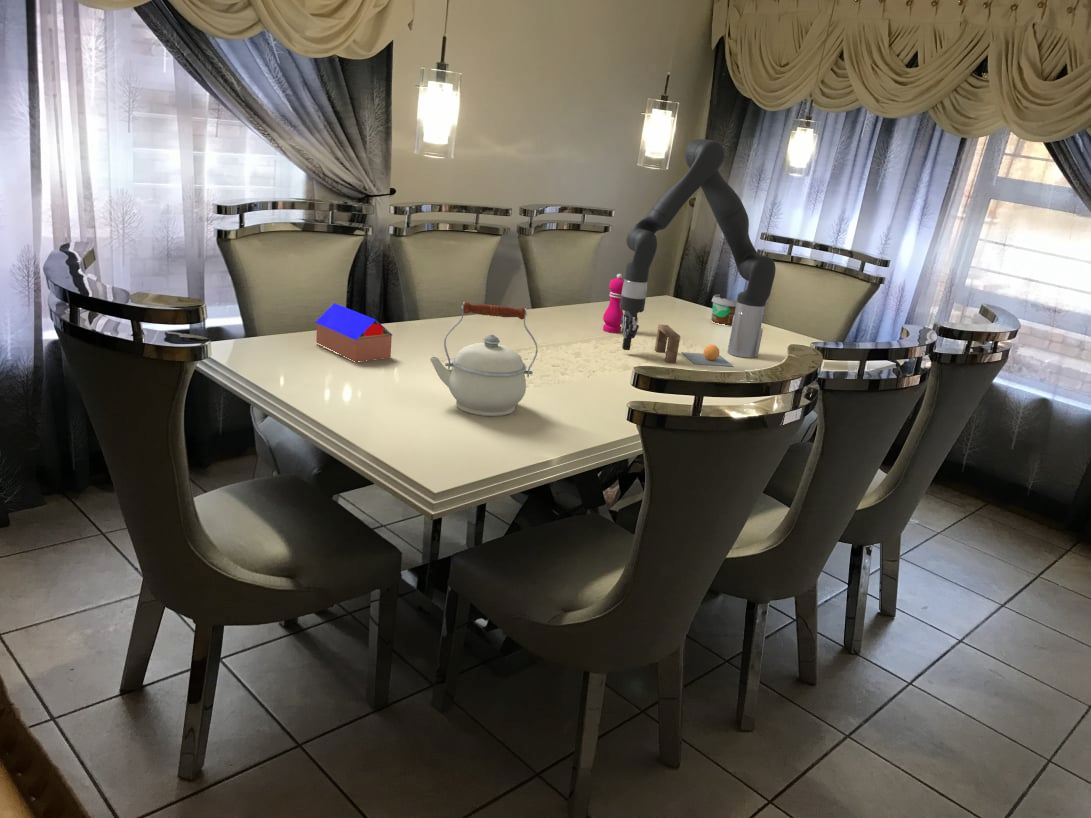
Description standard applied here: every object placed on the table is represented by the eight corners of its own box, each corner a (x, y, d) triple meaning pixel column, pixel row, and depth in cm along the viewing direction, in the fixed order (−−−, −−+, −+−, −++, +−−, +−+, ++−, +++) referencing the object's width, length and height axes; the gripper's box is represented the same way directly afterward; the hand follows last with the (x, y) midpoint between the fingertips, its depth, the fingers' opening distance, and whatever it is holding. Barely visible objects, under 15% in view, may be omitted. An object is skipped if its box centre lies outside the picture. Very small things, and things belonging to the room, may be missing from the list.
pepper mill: (598, 330, 294) (605, 272, 287) (606, 327, 300) (614, 270, 293) (617, 334, 291) (625, 276, 284) (625, 331, 297) (633, 274, 290)
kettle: (530, 399, 213) (540, 301, 205) (531, 424, 196) (543, 318, 188) (430, 389, 212) (437, 291, 204) (422, 413, 194) (429, 307, 187)
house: (355, 364, 226) (356, 321, 222) (314, 345, 239) (315, 304, 235) (392, 359, 234) (394, 317, 231) (351, 341, 247) (352, 301, 243)
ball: (718, 354, 274) (713, 340, 272) (723, 358, 269) (718, 344, 267) (704, 360, 274) (699, 347, 272) (709, 364, 269) (704, 351, 267)
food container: (701, 319, 332) (706, 293, 329) (714, 319, 334) (719, 294, 331) (720, 327, 321) (725, 301, 318) (733, 327, 324) (738, 301, 321)
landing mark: (719, 355, 279) (719, 354, 279) (733, 366, 267) (733, 366, 267) (681, 352, 277) (681, 352, 276) (693, 364, 264) (694, 363, 264)
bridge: (663, 351, 276) (667, 325, 273) (675, 363, 263) (680, 336, 260) (654, 350, 275) (658, 324, 273) (666, 362, 262) (671, 335, 260)
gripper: (651, 300, 255) (642, 356, 261) (640, 291, 268) (632, 344, 273) (627, 298, 254) (619, 354, 260) (617, 289, 266) (609, 343, 272)
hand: (625, 349), depth 266 cm, fingers closed
